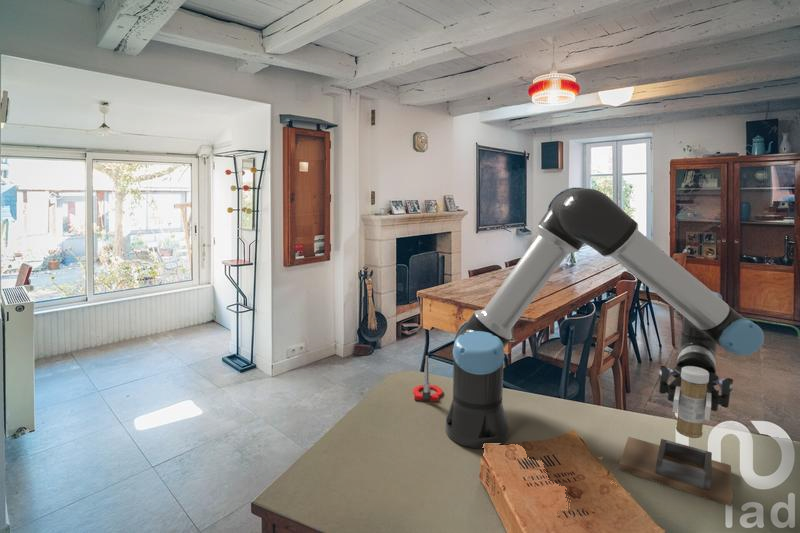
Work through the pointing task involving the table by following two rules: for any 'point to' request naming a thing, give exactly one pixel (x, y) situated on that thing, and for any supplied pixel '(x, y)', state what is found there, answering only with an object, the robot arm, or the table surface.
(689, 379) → the sprinkles bottle
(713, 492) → the cup bracket
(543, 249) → the robot arm
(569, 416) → the table surface
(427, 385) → the tow hook
